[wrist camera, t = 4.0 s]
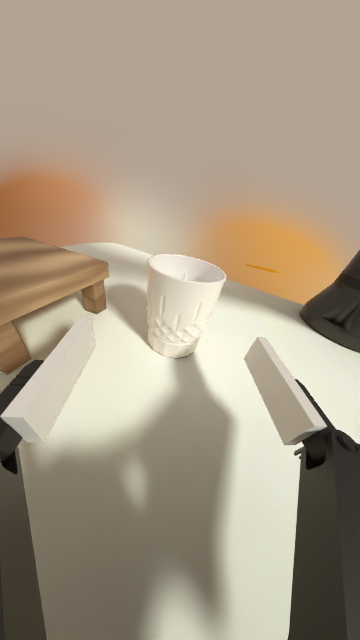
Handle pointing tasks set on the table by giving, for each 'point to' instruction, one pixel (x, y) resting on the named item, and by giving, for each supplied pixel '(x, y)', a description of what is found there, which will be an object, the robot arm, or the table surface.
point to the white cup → (180, 301)
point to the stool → (41, 287)
